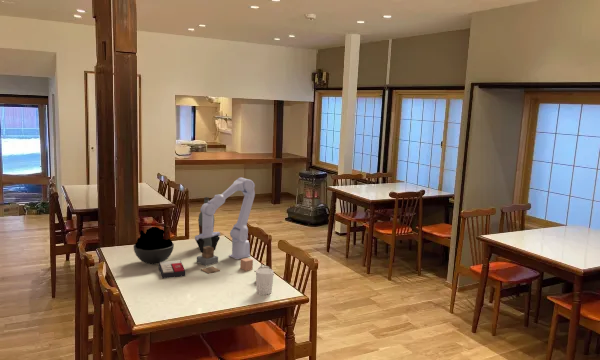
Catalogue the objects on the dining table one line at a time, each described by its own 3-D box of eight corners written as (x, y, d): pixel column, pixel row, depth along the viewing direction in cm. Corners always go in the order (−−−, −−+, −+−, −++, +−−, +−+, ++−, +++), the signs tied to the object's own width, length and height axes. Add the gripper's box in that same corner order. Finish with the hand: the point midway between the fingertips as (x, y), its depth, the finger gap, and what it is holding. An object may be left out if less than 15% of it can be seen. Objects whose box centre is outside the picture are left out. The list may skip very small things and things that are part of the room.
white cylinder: (266, 296, 209) (266, 275, 207) (251, 292, 213) (252, 271, 211) (276, 291, 215) (276, 270, 214) (262, 287, 220) (262, 266, 218)
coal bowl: (172, 256, 260) (172, 223, 257) (175, 268, 241) (174, 232, 238) (134, 258, 253) (133, 224, 251) (133, 271, 235) (132, 234, 232)
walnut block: (209, 254, 255) (209, 245, 254) (213, 256, 252) (213, 247, 251) (201, 256, 252) (201, 247, 251) (206, 258, 249) (206, 249, 248)
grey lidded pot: (267, 287, 230) (280, 272, 229) (259, 286, 222) (272, 270, 221) (255, 275, 234) (268, 259, 233) (247, 274, 226) (260, 258, 225)
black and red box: (162, 272, 225) (158, 261, 239) (162, 280, 226) (158, 269, 240) (185, 269, 230) (180, 259, 243) (185, 278, 231) (180, 266, 244)
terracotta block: (247, 266, 248) (247, 257, 247) (252, 269, 244) (252, 259, 244) (240, 268, 244) (240, 259, 244) (245, 271, 241) (245, 261, 241)
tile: (212, 267, 245) (212, 266, 245) (220, 270, 240) (220, 269, 240) (200, 270, 240) (200, 269, 240) (208, 273, 235) (208, 272, 235)
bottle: (195, 249, 275) (195, 198, 270) (201, 244, 284) (201, 195, 279) (211, 250, 273) (211, 199, 269) (216, 246, 282) (217, 196, 278)
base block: (208, 259, 258) (208, 253, 258) (218, 263, 253) (218, 256, 252) (196, 262, 252) (196, 256, 252) (205, 266, 247) (206, 259, 246)
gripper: (215, 222, 257) (214, 246, 259) (191, 226, 247) (191, 251, 249) (222, 225, 252) (222, 249, 254) (199, 229, 242) (198, 254, 244)
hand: (207, 250), depth 251 cm, fingers open, 7 cm apart
